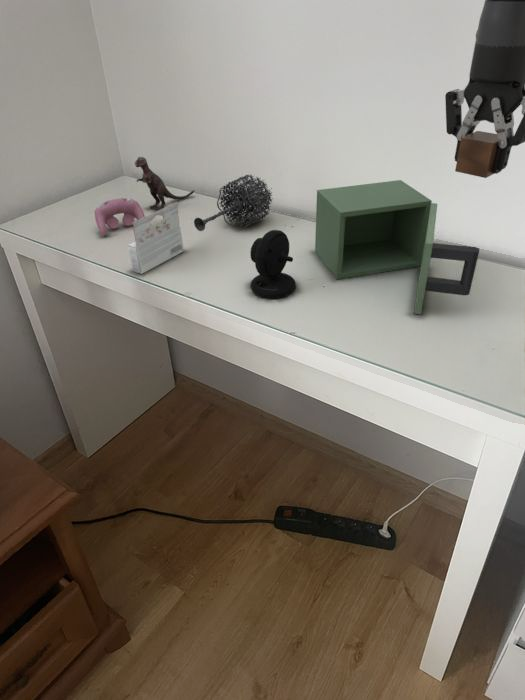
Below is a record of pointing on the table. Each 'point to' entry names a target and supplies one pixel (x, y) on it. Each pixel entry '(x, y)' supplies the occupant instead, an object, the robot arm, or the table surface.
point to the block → (477, 154)
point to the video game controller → (116, 207)
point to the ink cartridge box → (156, 239)
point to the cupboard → (370, 228)
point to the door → (444, 252)
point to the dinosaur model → (156, 185)
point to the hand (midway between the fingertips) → (478, 168)
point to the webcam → (272, 265)
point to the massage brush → (241, 202)
